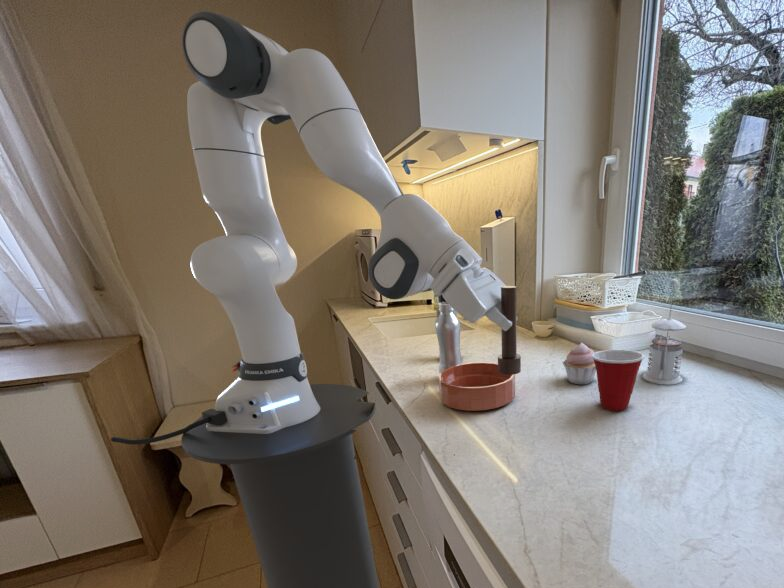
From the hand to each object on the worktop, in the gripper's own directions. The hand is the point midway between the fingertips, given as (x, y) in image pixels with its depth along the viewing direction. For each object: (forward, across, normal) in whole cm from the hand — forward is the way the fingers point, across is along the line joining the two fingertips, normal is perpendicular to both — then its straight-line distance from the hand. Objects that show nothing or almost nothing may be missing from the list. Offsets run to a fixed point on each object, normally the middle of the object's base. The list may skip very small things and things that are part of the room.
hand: (512, 325), depth 76 cm
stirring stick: (+6, 0, -7) cm, 9 cm away
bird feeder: (+37, -32, +9) cm, 50 cm away
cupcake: (+22, -27, -6) cm, 36 cm away
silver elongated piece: (0, -22, -30) cm, 37 cm away
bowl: (+7, -11, -22) cm, 26 cm away
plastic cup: (+28, -13, 0) cm, 31 cm away
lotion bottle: (-5, -38, -34) cm, 52 cm away
